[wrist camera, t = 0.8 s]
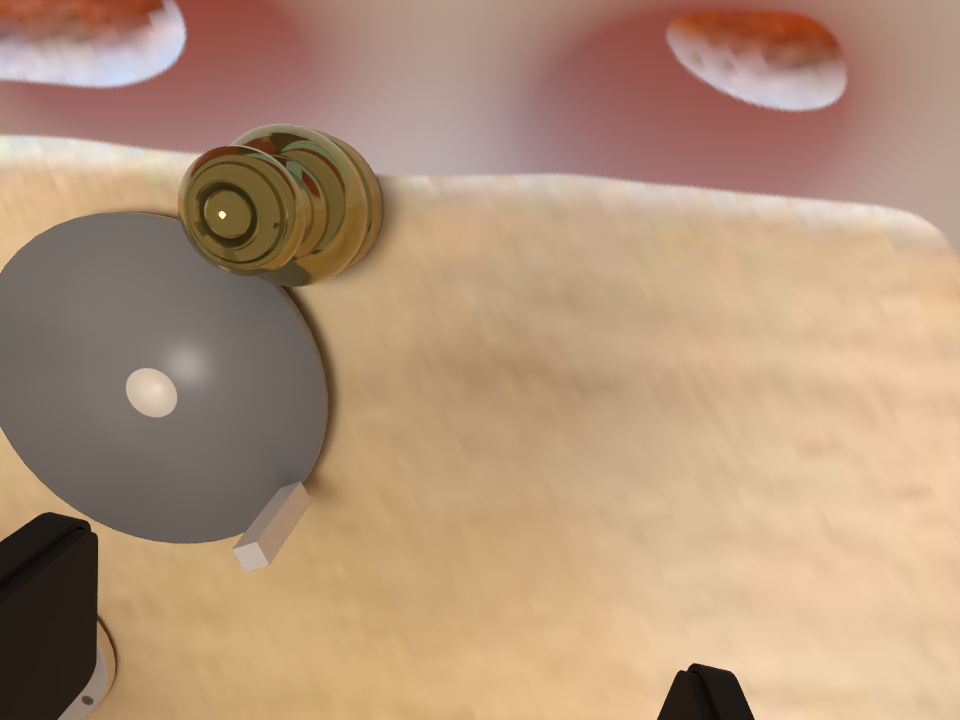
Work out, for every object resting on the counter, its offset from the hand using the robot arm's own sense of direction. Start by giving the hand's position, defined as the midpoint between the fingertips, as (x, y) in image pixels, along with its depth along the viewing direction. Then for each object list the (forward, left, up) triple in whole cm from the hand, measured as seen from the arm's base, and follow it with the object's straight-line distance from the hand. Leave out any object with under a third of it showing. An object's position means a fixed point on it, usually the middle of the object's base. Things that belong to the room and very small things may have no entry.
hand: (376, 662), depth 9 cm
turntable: (-19, +3, -24) cm, 30 cm away
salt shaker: (-6, +9, -24) cm, 26 cm away
